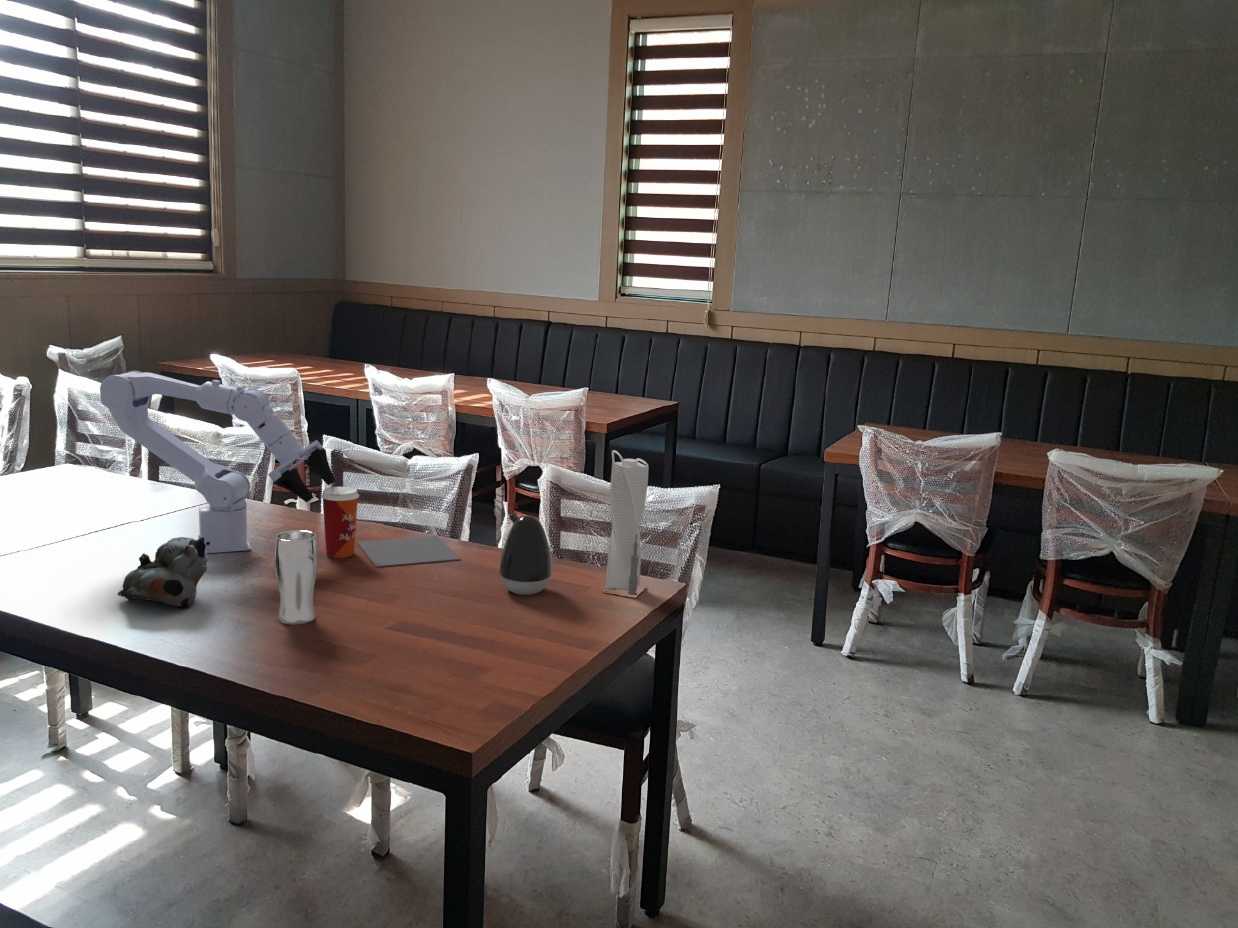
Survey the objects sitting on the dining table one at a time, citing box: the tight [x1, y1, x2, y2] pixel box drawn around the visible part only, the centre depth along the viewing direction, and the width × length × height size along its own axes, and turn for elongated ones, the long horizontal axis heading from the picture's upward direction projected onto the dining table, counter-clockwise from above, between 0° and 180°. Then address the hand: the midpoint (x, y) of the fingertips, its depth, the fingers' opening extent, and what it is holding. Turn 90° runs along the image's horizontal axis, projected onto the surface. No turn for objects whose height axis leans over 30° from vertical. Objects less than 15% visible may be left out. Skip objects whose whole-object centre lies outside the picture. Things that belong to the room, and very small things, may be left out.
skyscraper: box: [601, 449, 649, 595], centre depth 186 cm, size 8×8×28 cm
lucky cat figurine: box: [117, 536, 209, 610], centre depth 167 cm, size 15×12×14 cm
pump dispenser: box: [498, 513, 553, 596], centre depth 183 cm, size 10×10×15 cm
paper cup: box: [320, 486, 360, 559], centre depth 199 cm, size 8×8×14 cm
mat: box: [357, 535, 462, 568], centre depth 205 cm, size 18×18×1 cm
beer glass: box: [274, 529, 319, 626], centre depth 162 cm, size 7×7×15 cm
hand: (321, 491), depth 199 cm, fingers open, 7 cm apart
